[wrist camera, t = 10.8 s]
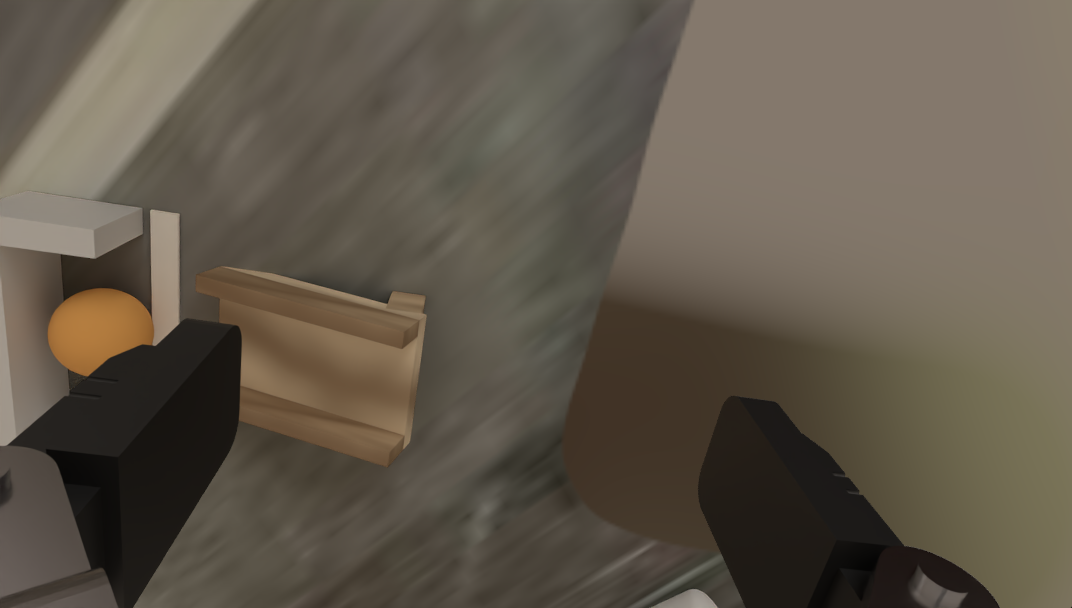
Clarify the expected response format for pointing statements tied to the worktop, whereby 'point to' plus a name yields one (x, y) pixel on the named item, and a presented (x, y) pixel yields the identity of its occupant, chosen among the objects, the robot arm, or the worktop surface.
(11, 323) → the backstop
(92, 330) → the ball
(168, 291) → the strip
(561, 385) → the worktop surface
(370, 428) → the ramp
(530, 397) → the worktop surface
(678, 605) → the toaster
